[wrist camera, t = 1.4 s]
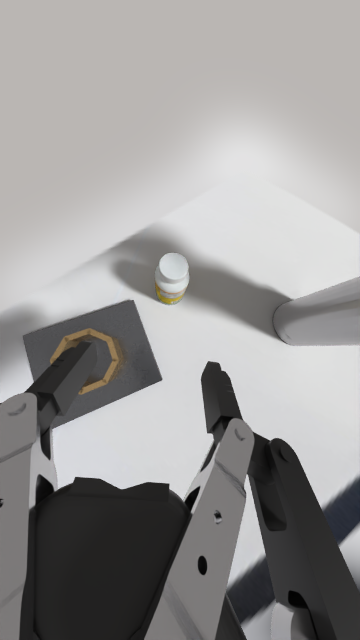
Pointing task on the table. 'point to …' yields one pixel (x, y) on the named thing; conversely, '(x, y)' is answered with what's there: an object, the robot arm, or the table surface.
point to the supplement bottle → (171, 278)
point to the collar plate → (99, 356)
